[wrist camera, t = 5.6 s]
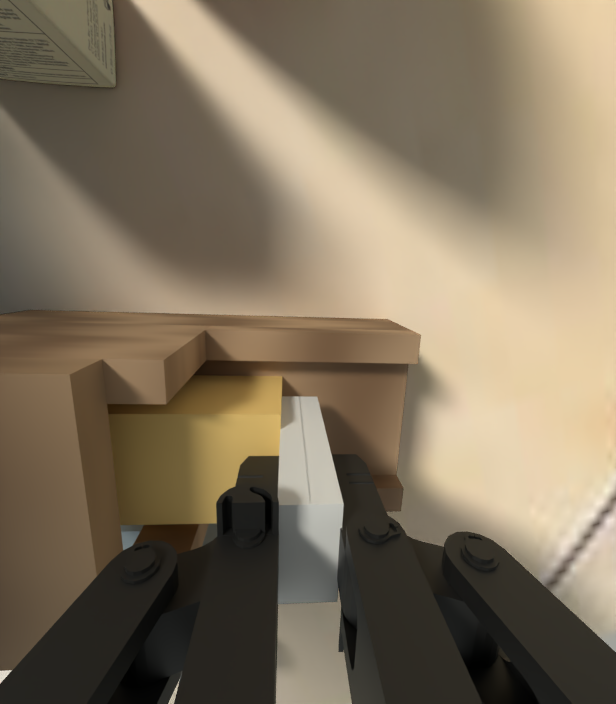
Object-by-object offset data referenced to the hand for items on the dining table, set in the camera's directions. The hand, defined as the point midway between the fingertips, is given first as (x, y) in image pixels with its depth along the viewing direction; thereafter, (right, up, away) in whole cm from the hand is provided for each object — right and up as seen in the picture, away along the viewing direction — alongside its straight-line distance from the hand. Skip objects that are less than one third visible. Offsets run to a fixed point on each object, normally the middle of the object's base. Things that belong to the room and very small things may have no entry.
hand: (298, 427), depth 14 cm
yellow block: (-4, 0, +1) cm, 4 cm away
